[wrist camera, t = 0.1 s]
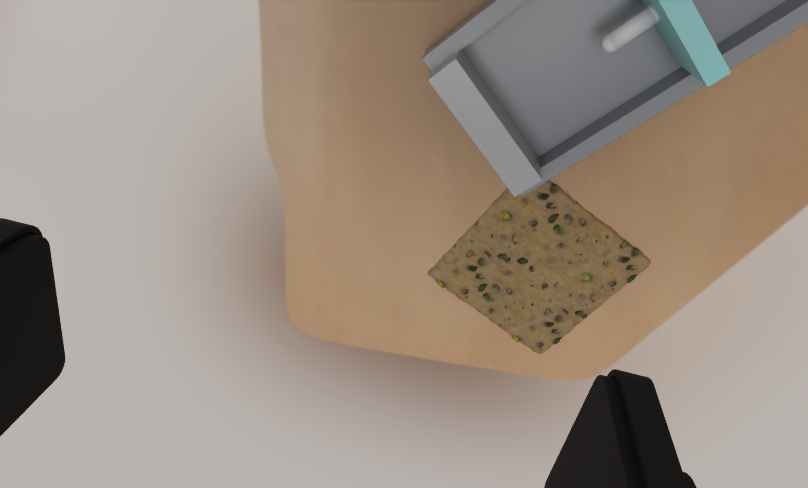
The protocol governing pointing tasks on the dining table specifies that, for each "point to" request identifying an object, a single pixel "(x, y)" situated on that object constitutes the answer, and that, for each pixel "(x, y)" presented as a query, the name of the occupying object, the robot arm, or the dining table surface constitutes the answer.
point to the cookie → (538, 265)
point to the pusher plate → (675, 37)
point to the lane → (577, 75)
